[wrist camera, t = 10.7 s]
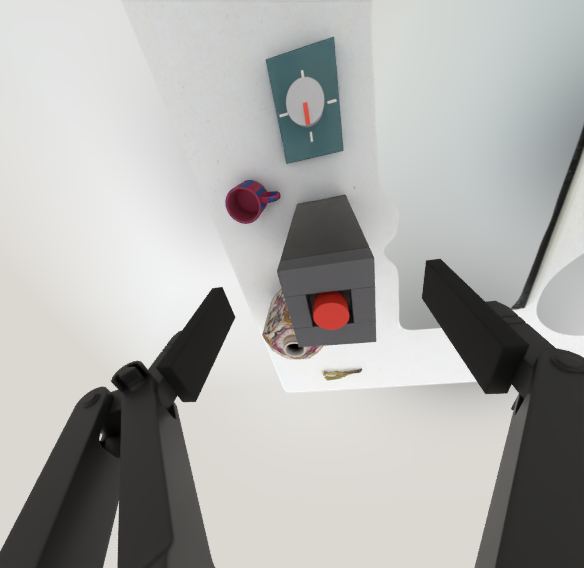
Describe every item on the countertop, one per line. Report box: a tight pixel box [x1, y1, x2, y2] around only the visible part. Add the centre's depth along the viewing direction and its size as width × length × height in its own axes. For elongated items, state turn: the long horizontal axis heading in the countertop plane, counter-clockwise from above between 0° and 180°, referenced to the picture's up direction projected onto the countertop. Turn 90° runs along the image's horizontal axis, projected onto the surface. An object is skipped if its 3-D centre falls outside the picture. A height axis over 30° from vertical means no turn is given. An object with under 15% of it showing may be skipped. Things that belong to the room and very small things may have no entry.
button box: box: [277, 195, 376, 347], centre depth 38 cm, size 12×10×28 cm
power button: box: [313, 291, 349, 330], centre depth 26 cm, size 4×4×2 cm
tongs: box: [323, 368, 362, 380], centre depth 75 cm, size 4×13×2 cm, turn 117°
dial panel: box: [266, 37, 343, 164], centre depth 37 cm, size 14×10×3 cm
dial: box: [286, 77, 324, 127], centre depth 33 cm, size 5×5×8 cm
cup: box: [226, 180, 280, 224], centre depth 45 cm, size 7×10×7 cm
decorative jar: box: [262, 289, 323, 359], centre depth 53 cm, size 12×12×18 cm
